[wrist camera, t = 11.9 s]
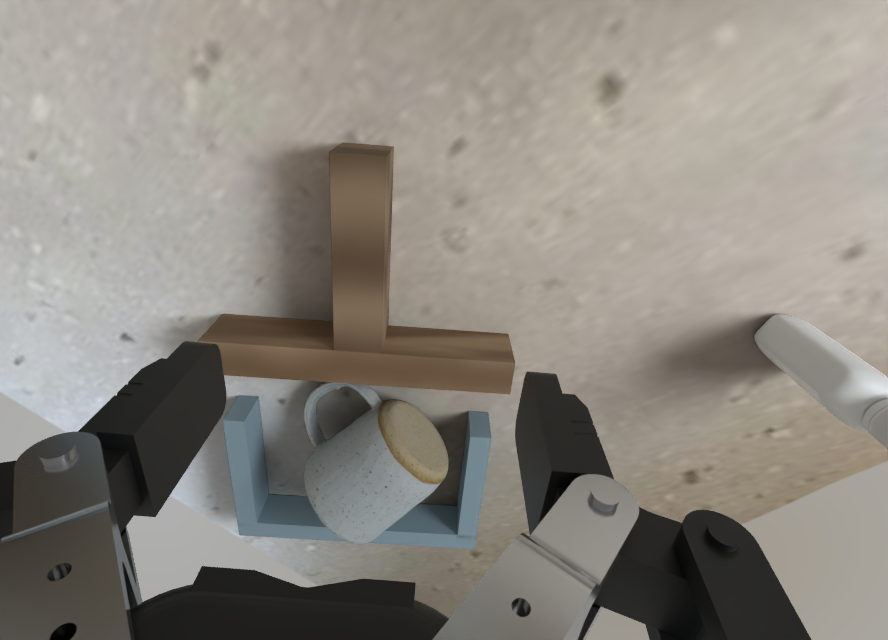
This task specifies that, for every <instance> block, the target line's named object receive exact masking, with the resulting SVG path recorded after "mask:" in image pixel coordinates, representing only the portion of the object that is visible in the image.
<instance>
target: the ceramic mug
mask: <svg viewBox="0 0 888 640" xmlns="http://www.w3.org/2000/svg"><path fill="white" fill-rule="evenodd" d="M345 386H347V387H350V388H351V389H353V390H355V391H357V392H358V393H359V394H360V395H361V396H362V397H363V398H364V399H365V400H366V402H367V403H368V404H369V405H370V407H371V409H370V410H369V411H367V412H365V413H364V414H363V415H362V416H361V417H359V418H358V419H356V420H354V422H353V423H352V424H351V425H349V426H348V427H346V428H345V429H343V430H342V431H340V432H339V433H337V434H336V435H335V436H333V437H332V438H331V439H329V440H328V441H327V440H326V438H325V437H324V435H323V433H322V430H321V428H320V426H319V423H318V419H317V414H316V407H317V402H318V401H319V400H320V398H321V397H322V396H324V395H325V394H327V393H328V392H330V391H331V390H333V389H340V388H341V387H345ZM304 422H305V427H306V431H307V434H308V436H309V439H310V441H311V443H312V445H313V447H314V448H315V451H314V452H313V453H312V454H311V455H310V457H309V458H308V460H307V462H306V465H305V469H304V483H305V490H306V493H307V496H308V499H309V501H310V503H311V505H312V507H313V509H314V511H315V513H316V514H317V516H318V517H319V519H320V520H321V522H322V523H323V524H324V525H325V526H326V527H327V528H328V529H329V530H330V531H332V532H333V533H334V534H335V535H336V536H337V537H339V538H341V539H343V540H345V541H347V542H350V543H354V544H364V543H368V542H370V541H372V540H374V539H375V538H376V537H378V536H379V535H380V534H381V533H382V532H384V531H385V530H386V529H387V528H389V527H390V526H391V525H392V524H394V523H395V522H396V521H398V520H399V519H400V518H401V517H403V516H404V515H405V514H406V513H407V512H409V511H410V510H411V509H412V508H413V507H415V506H416V505H417V504H419V503H420V502H421V501H423V500H424V499H425V498H427V497H428V496H429V495H430V494H431V493H432V492H434V490H435V489H436V488H437V487H438V486H439V485H440V483H441V482H442V481H443V480H444V479H445V477H446V475H447V472H448V454H447V450H446V447H445V444H444V442H443V440H442V438H441V436H440V434H439V432H438V431H437V429H436V428H435V426H434V425H433V424H432V423H431V421H430V420H429V419H428V418H427V417H426V416H425V415H424V414H423V413H422V412H421V411H420V410H418V409H417V408H416V407H414V406H413V405H411V404H409V403H407V402H405V401H401V400H387V401H385V402H383V401H381V400H380V398H379V397H378V395H377V394H376V392H375V391H374V390H373V389H372V388H370V387H369V386H368V385H365V384H350V383H335V382H325V383H323V384H321V385H319V386H318V387H317V388H315V389H314V390H313V391H312V392H311V394H310V395H309V396H308V398H307V400H306V403H305V407H304Z"/></svg>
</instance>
